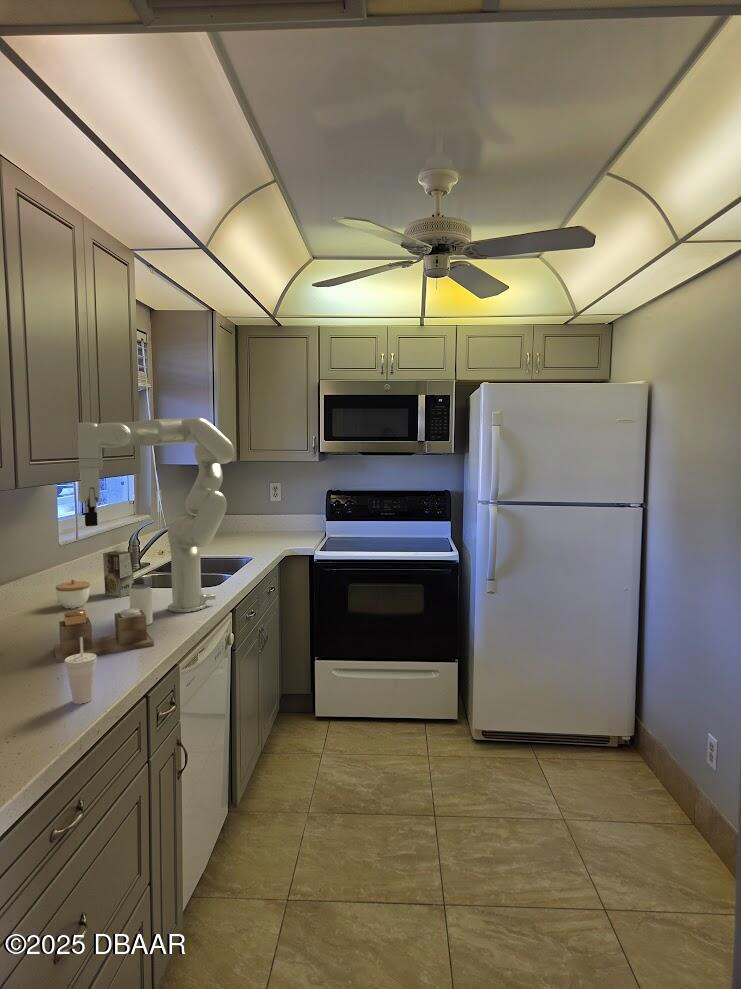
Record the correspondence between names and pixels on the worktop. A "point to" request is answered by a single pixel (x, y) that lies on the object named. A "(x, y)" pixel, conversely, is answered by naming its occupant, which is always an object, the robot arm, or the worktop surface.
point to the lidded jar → (73, 593)
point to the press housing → (126, 637)
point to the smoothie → (81, 675)
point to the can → (142, 600)
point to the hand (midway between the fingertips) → (91, 525)
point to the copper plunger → (74, 617)
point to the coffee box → (118, 573)
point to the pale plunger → (129, 613)
